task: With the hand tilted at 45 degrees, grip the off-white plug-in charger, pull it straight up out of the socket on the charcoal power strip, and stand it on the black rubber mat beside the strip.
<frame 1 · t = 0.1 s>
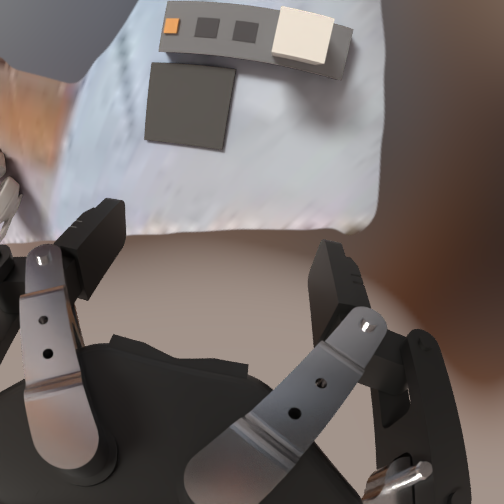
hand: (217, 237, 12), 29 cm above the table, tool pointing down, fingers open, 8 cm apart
charger: (296, 42, 29), point 1 cm above the table, touching power strip
mat: (187, 104, 35), on the table
power strip: (255, 35, 29), on the table
headphones: (9, 173, 41), on the table
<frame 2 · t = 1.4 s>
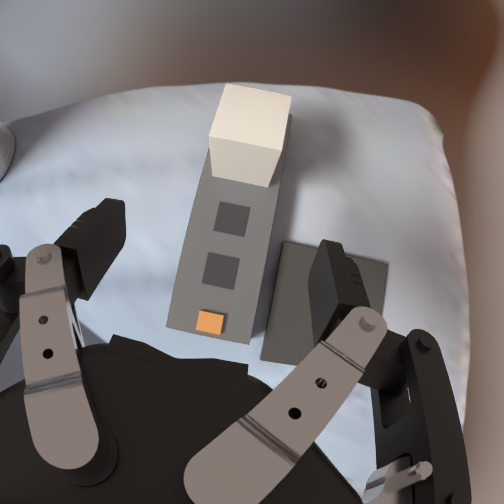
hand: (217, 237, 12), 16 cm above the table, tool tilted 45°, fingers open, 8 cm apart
charger: (244, 166, 28), point 1 cm above the table, touching power strip
mat: (327, 310, 28), on the table
power strip: (233, 216, 28), on the table
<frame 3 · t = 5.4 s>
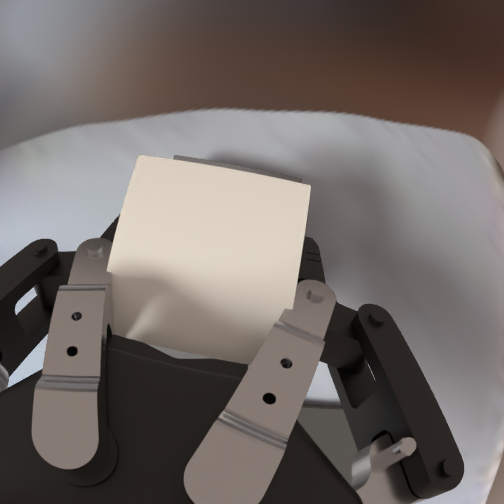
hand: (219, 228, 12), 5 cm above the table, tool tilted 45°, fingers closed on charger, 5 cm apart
charger: (215, 280, 16), point 1 cm above the table, touching gripper, power strip
mat: (340, 475, 16), on the table
power strip: (200, 365, 16), on the table
when the fingers open (6 cm above the table, at t = 12.1 s): charger drops 1 cm, resting on mat.
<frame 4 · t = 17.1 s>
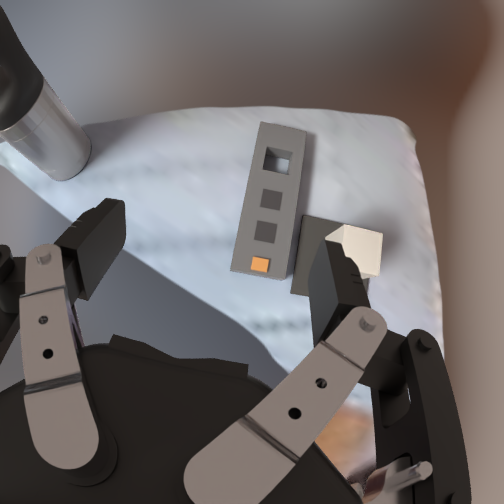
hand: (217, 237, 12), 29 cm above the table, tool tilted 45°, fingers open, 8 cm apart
charger: (335, 260, 41), point 1 cm above the table, touching mat
mat: (333, 261, 42), on the table
power strip: (269, 199, 42), on the table
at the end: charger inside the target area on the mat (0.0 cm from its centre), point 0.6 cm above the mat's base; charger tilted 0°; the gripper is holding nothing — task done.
